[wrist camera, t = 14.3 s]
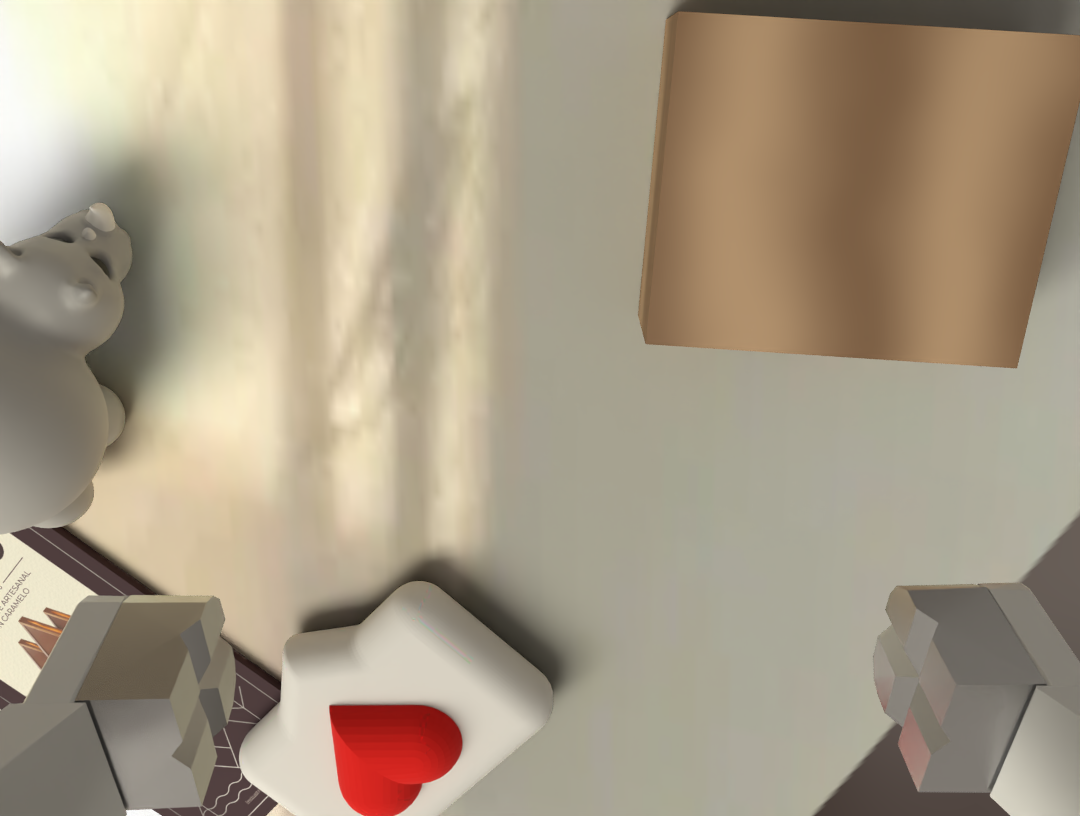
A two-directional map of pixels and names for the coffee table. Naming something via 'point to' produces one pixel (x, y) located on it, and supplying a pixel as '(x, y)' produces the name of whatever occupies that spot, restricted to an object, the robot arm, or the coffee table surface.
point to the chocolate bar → (42, 613)
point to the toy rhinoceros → (57, 366)
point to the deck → (853, 186)
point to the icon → (394, 711)
